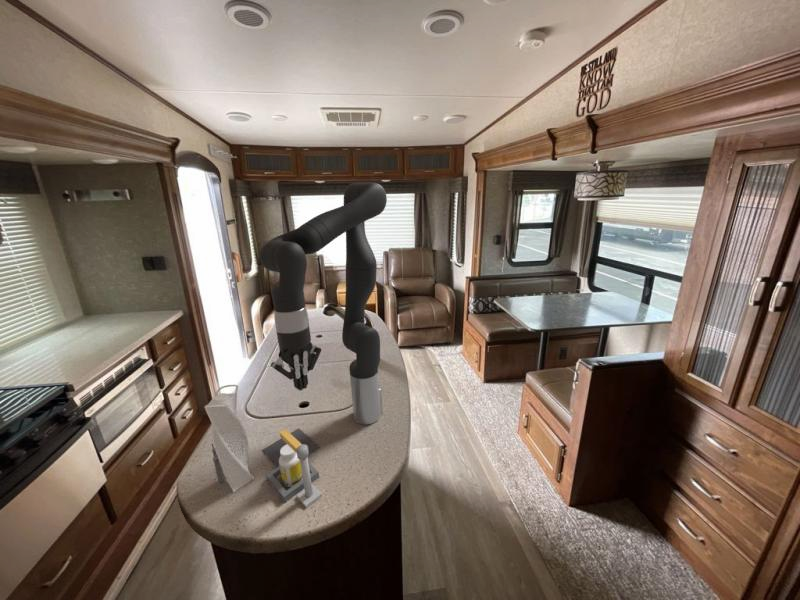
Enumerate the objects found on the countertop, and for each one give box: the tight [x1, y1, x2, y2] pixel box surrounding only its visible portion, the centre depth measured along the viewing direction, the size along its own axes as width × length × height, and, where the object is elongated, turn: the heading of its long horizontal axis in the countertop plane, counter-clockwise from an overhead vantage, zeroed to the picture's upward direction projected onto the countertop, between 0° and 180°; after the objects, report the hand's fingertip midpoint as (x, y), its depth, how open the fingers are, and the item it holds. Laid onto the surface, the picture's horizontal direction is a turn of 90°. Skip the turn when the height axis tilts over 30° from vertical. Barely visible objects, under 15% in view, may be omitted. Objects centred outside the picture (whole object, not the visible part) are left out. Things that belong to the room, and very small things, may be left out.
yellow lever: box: [279, 428, 309, 460], centre depth 76 cm, size 11×3×2 cm, turn 47°
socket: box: [265, 456, 323, 509], centre depth 79 cm, size 10×15×13 cm, turn 47°
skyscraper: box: [204, 384, 255, 498], centre depth 79 cm, size 8×8×28 cm
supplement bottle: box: [279, 444, 303, 488], centre depth 82 cm, size 5×5×10 cm
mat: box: [262, 428, 321, 468], centre depth 93 cm, size 12×12×1 cm
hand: (301, 388), depth 80 cm, fingers closed
